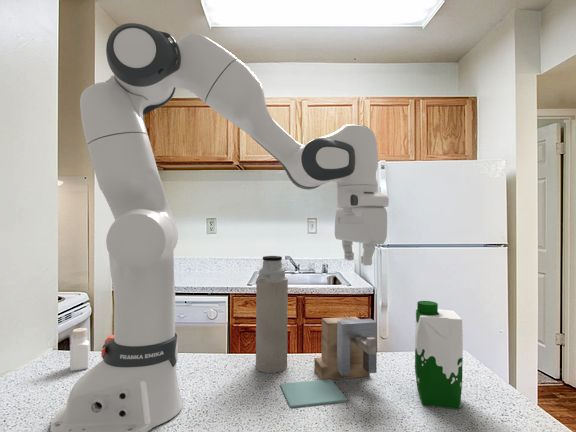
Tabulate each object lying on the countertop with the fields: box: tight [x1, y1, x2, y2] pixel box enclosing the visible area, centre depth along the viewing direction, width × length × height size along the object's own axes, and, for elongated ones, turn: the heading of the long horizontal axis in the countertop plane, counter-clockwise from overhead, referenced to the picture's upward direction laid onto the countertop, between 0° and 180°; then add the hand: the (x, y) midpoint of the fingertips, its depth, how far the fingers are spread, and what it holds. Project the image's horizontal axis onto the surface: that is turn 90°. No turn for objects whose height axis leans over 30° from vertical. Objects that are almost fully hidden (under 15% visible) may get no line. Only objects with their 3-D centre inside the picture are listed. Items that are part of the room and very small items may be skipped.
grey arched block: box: [337, 318, 378, 376], centre depth 81 cm, size 8×3×11 cm, turn 103°
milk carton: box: [414, 300, 464, 410], centre depth 77 cm, size 9×9×20 cm
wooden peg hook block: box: [313, 316, 376, 381], centre depth 83 cm, size 12×20×14 cm, turn 13°
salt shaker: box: [69, 327, 90, 372], centre depth 91 cm, size 4×4×10 cm
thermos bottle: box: [255, 255, 289, 374], centre depth 93 cm, size 8×8×28 cm
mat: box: [279, 379, 348, 409], centre depth 79 cm, size 12×10×1 cm
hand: (357, 262), depth 81 cm, fingers open, 8 cm apart
